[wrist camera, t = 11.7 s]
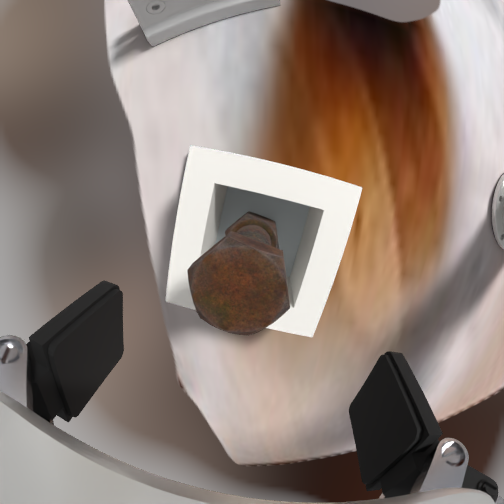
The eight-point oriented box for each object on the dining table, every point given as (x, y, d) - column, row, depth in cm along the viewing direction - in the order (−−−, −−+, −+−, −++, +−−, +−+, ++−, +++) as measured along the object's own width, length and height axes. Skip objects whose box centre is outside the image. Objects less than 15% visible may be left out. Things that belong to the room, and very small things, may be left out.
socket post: (357, 186, 28) (387, 193, 19) (320, 302, 32) (333, 343, 24) (194, 146, 28) (164, 138, 20) (172, 266, 32) (142, 297, 24)
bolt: (249, 264, 29) (228, 351, 15) (218, 227, 29) (166, 288, 14) (293, 230, 28) (313, 296, 14) (262, 192, 27) (250, 218, 13)
